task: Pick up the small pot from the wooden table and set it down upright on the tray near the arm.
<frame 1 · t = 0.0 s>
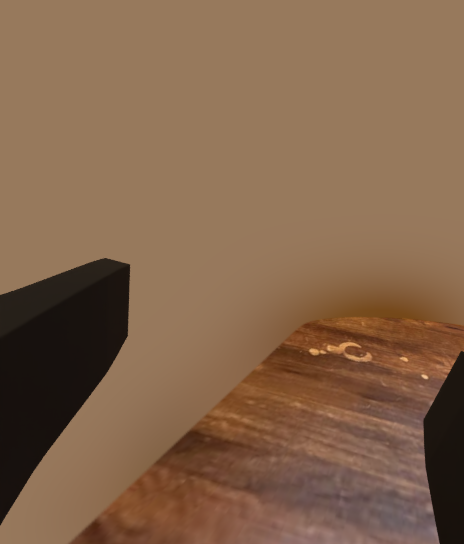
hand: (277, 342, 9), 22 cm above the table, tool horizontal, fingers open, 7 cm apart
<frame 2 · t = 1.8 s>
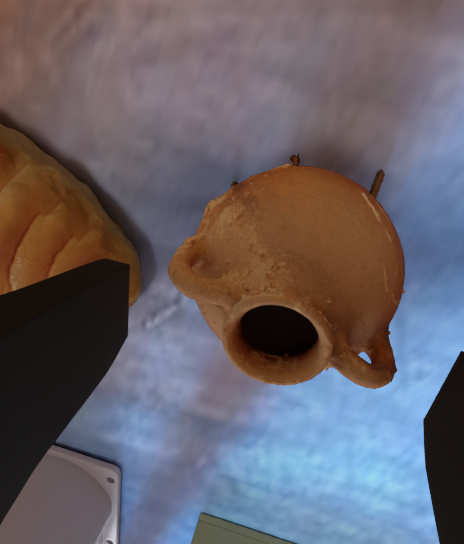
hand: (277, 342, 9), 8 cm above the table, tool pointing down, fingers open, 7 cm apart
pot: (307, 215, 16), on the table
pastry: (48, 212, 19), on the table
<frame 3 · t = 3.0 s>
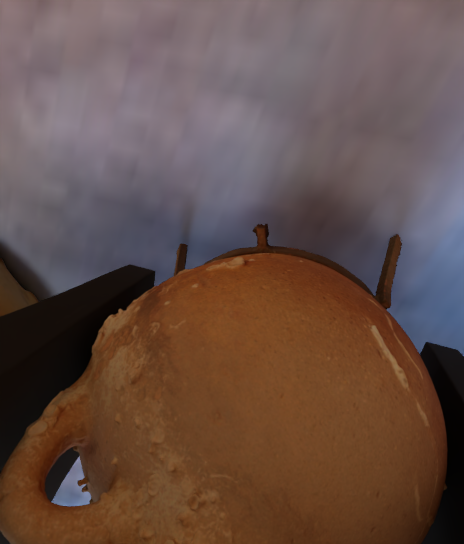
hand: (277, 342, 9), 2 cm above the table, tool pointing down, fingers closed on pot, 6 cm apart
pot: (288, 291, 11), on the table, touching gripper
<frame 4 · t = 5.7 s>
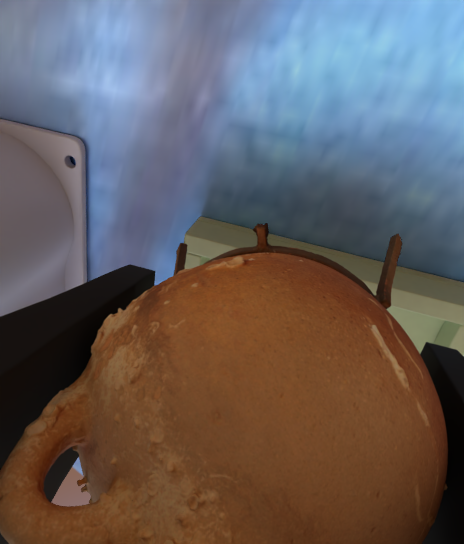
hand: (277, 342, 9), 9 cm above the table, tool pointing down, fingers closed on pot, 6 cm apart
pot: (288, 291, 11), point 7 cm above the table, touching gripper
tray: (290, 385, 22), on the table
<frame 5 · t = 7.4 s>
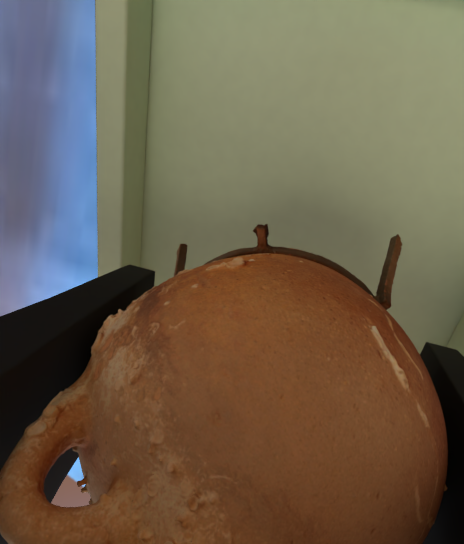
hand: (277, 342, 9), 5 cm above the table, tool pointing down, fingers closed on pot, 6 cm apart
pot: (288, 291, 11), point 3 cm above the table, touching gripper
tray: (299, 251, 13), on the table
when the fingers open (2 cm above the table, at t = 8.7 s): pot stays where it is, resting on tray.
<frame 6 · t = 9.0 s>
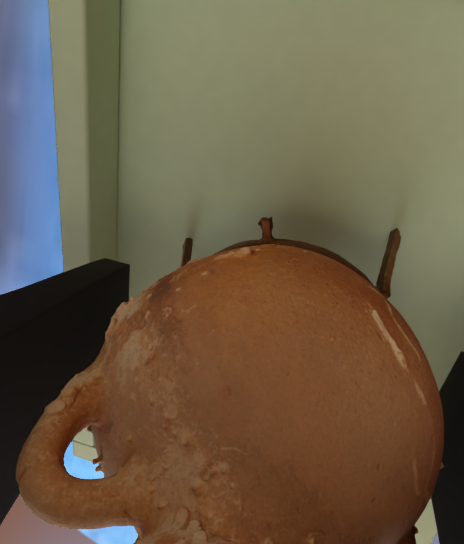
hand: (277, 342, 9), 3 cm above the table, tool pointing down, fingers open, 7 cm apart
pot: (291, 284, 12), resting on tray
tray: (293, 279, 12), on the table
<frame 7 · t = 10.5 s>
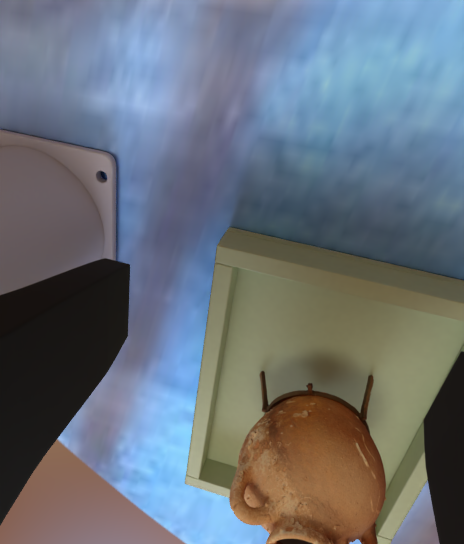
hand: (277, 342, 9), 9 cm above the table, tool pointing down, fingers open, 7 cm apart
pot: (317, 394, 22), resting on tray
tray: (318, 390, 22), on the table
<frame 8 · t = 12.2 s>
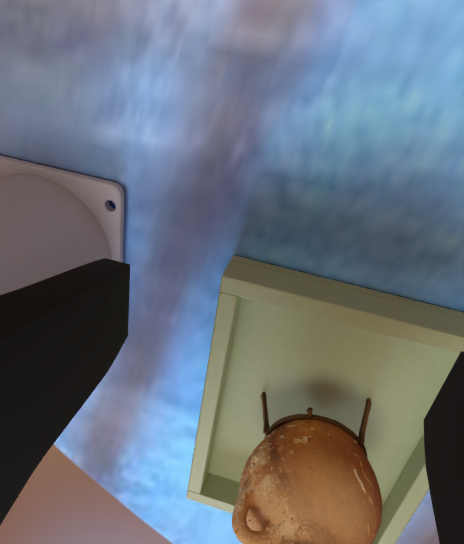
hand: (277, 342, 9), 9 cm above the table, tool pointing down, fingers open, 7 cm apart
pot: (316, 415, 22), resting on tray
tray: (317, 410, 23), on the table
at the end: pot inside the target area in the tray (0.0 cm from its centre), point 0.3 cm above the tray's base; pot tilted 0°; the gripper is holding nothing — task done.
